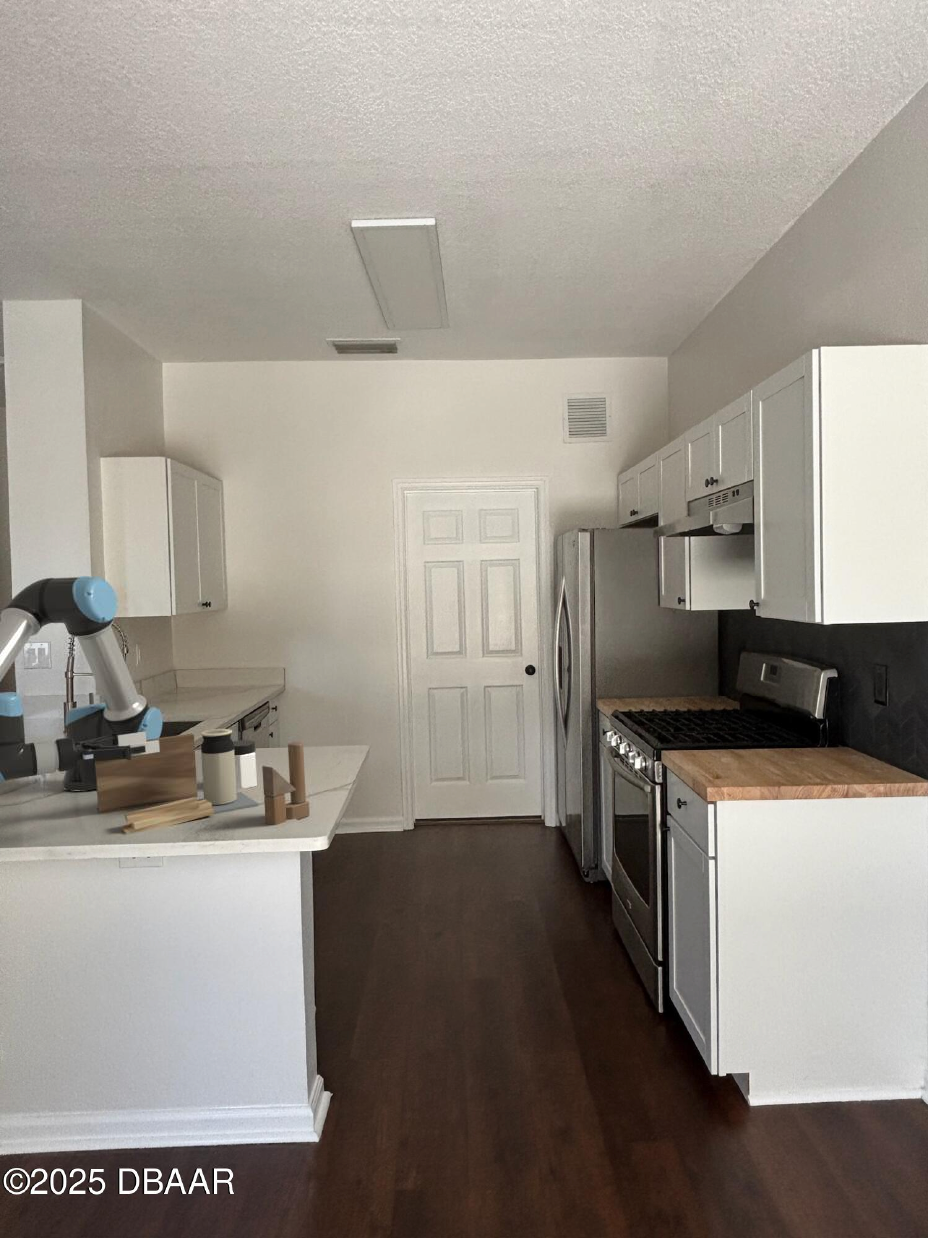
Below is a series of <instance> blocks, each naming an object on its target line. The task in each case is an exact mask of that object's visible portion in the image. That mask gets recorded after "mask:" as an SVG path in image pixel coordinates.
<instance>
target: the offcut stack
mask: <svg viewBox="0 0 928 1238" xmlns="http://www.w3.org/2000/svg"><path fill="white" fill-rule="evenodd" d="M198 800H199V799H197V797H194V798H189V799H184V800H178V801H172V802H167V803H163V804H161V805H160V804H159V805H154V806H151V807H147V808H143V809H139V810H135V811H131V812H126V813H124V817H125V821H126V822H127V824H125V825H121V830H122V831H123V832H124V834H125V835H128V834H130V835H131V834H135V833H140V832H144V831H149V830H155V829H159V828H160V829H161V828H164V827H169V826H173V825H178V824H181V823H185V822H186V823H187V822H188V821H189V822H190V821H193V820H197V819H201V818H205V817H208V816H212V814H213V815H215V814H214V811H213V808H212V803H210V802H209V801H207V800H201V801H198Z"/></svg>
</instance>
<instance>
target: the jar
mask: <svg viewBox="0 0 928 1238" xmlns="http://www.w3.org/2000/svg"><path fill="white" fill-rule="evenodd" d="M232 741H233V740H232ZM233 743H234V757H235V776H236V790H238V789H244V788H245V789H250V787H251V788H254V787H257V786H258V785H257V784H258V774H257V754H256V751H257V748H256V741H254V740H250V739H249V740H246V739H245V740H244V739H243V740H234V741H233Z"/></svg>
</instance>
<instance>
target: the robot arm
mask: <svg viewBox="0 0 928 1238" xmlns="http://www.w3.org/2000/svg"><path fill="white" fill-rule="evenodd" d="M117 603H118V597H117V594H116V592H115V590H114V588H113V586H112V585H111V584H110V582H108V581H107V580H106V579H103V578H101V577H98V576H87V575H83V576H78V577H75V576H74V577H55V578H54V577H48V578H43V579H39V580H37V581H35V582H32V583H31V584H29V585H27V586H26V587H24V588H23V589H22V590H20V592H19V593H17V594H16V595H14V597H13V598H11V600H10V601H9V603H7V605H6V606H5V607H4V609H3V610H2V612H1V613H0V682H1V681H2V680H3V678H4V677H5V675H6V674H7V672H8V670H9V669H10V668H11V667H12V665H13V663H14V662H15V661H16V660H17V658H18V656H19V654H20V653H21V651H22V650H23V648H24V647H25V646H26V644H27V643H28V641H29V639H30V638H31V636H32V637H33V636H36V635H37V634H38V633H39V632H40V630H42V628H43V627H45V626H47V625H51V624H64V625H65V629H66V630H67V633H68V634H69V635H70V636H71V637H75V638H77V640H78V642H79V645H80V647H81V649H82V652H83V655H84V657H85V659H86V662H87V664H88V666H89V668H90V671H91V673H92V676H93V678H94V681H95V682H96V685H97V688H98V690H99V693H100V695H101V696H102V699H103V701H104V702H97V703H91V704H87V705H82V706H78V707H74V708H71V709H69V710H68V711H67V712H66V714H65V724H64V725H65V728H66V729H65V730H66V737H64V738H57V739H55V741H53V739H48V740H46V739H45V740H40V741H34V742H29V743H26V739H25V738H26V736H25V722H24V708H23V705H22V704H23V703H22V696H21V695H20V693H18V692H13V691H6V692H0V782H6V781H7V782H8V781H11V780H17V779H23V778H29V777H35V776H40V777H43V778H44V777H46V774H47V775H48V774H53V773H55V772H57V771H58V772H59V773H62V772H65V773H64V776H63V780H62V784H63V785H62V787H64V788H65V789H67V790H92V791H94V790H93V789H97V783H96V767H95V761H105V760H119V759H127V760H131V756H136V755H143V754H149V753H155V752H160V749H159V740H155V741H149V742H146V740H149V739H156V738H161V737H160V736H161V735H162V730H163V715H162V712H161V710H160V709H159V708H157V707H155V706H152V707H150V706H149V704H148V701H147V699H146V697H145V696H143V695H141V694H138V691H137V690H136V686H135V684H134V681H133V679H132V676H131V673H130V671H129V669H128V667H127V663H126V662H125V658H124V656H123V654H122V651H121V649H120V646H119V643H118V640H117V639H116V635H115V633H114V631H113V628H112V625H113V623H114V621H115V616H116V615H117V612H118V604H117ZM117 744H118V745H117ZM128 745H129V746H128ZM64 788H63V789H64Z"/></svg>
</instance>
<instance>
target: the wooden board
mask: <svg viewBox="0 0 928 1238" xmlns="http://www.w3.org/2000/svg"><path fill="white" fill-rule="evenodd" d="M155 740H159V749H160V752H155V753H149V754H143V755H136V756H131V760H127V759H119V760H105V761H95V767H96V783H97V790H96V793H97V794H96V796H97V807H96V813H97V812H98V813H99V814H98V815H103V814H110V813H115V812H120V811H121V812H122V811H126V810H133V809H137V808H142V807H143V808H144V807H150V806H156V805H160V804H161V805H162V804H168V803H173V802H177V801H181V800H186V799H190V798H194V797H195V798H198V784H197V768H196V767H197V766H196V765H197V763H196V748H195V734H194V733H187V734H186V733H185V734H180V735H173V736H172V735H171V736H163V737H159V738H156V739H149V740H146V742H149V741H155ZM117 745H118V744H117ZM128 746H129V745H128Z"/></svg>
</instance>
